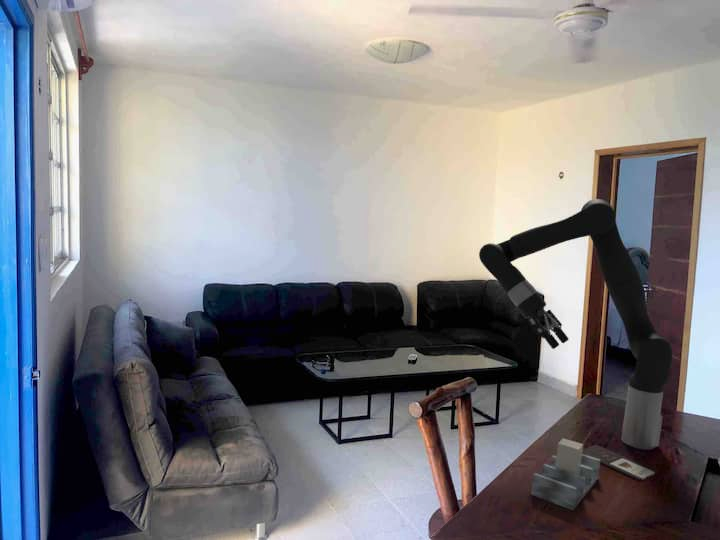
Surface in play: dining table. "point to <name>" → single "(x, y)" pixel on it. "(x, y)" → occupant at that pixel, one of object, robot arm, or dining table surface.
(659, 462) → the dining table surface
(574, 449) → the clay bar
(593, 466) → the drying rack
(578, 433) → the dining table surface
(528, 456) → the dining table surface
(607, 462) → the chocolate bar
